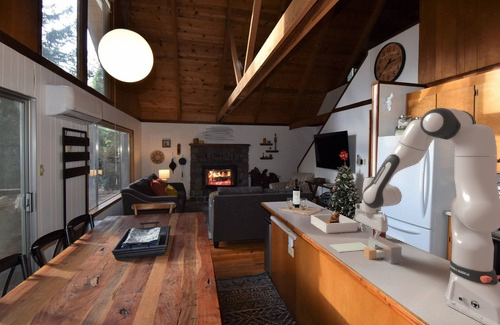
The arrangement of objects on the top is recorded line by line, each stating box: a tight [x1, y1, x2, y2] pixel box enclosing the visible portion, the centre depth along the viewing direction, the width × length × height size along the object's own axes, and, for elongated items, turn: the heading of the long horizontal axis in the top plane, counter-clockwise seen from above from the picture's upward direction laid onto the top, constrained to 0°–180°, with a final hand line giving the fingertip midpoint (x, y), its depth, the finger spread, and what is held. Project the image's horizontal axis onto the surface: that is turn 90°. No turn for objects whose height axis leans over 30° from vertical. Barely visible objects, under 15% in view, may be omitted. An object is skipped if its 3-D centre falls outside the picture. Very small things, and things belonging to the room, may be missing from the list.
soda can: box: [372, 228, 387, 239], centre depth 152 cm, size 7×7×12 cm
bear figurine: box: [325, 211, 340, 224], centre depth 173 cm, size 14×15×12 cm
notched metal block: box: [368, 235, 403, 265], centre depth 128 cm, size 16×6×8 cm, turn 11°
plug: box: [363, 246, 383, 260], centre depth 128 cm, size 4×17×4 cm, turn 101°
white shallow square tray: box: [310, 213, 359, 234], centre depth 177 cm, size 23×23×6 cm
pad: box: [329, 241, 369, 253], centre depth 140 cm, size 10×20×1 cm, turn 101°
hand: (369, 234), depth 126 cm, fingers open, 8 cm apart
